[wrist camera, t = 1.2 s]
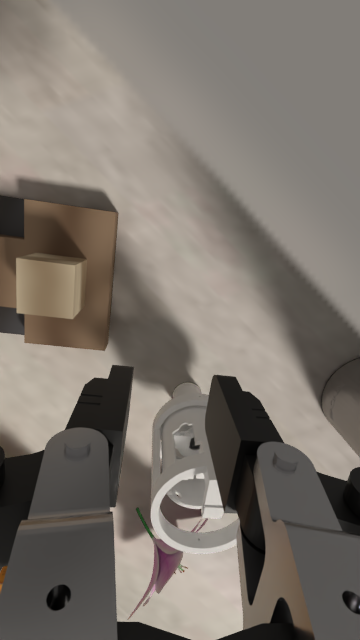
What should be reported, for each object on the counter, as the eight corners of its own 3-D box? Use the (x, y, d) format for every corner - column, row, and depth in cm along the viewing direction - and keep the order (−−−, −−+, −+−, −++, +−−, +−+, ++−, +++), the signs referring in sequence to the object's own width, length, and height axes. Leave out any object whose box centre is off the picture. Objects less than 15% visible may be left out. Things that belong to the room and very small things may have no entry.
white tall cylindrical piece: (226, 368, 32) (281, 484, 18) (214, 426, 34) (256, 574, 20) (157, 361, 31) (157, 478, 17) (149, 422, 33) (144, 571, 19)
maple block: (87, 259, 26) (75, 265, 22) (84, 305, 27) (72, 319, 23) (37, 252, 26) (15, 257, 22) (36, 300, 27) (16, 313, 23)
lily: (130, 556, 40) (167, 644, 33) (74, 536, 33) (106, 645, 26) (199, 487, 43) (248, 556, 35) (161, 454, 35) (214, 534, 28)
